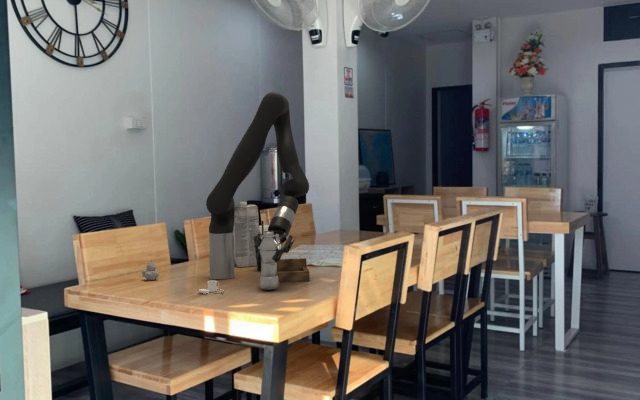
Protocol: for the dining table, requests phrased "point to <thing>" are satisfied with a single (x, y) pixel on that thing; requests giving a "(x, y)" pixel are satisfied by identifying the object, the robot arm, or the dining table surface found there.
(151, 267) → the rubber duck
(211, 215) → the robot arm
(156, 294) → the dining table surface
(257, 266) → the drinking cup
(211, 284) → the teacup and saucer
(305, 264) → the drawer
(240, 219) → the juice carton
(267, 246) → the plastic bottle
